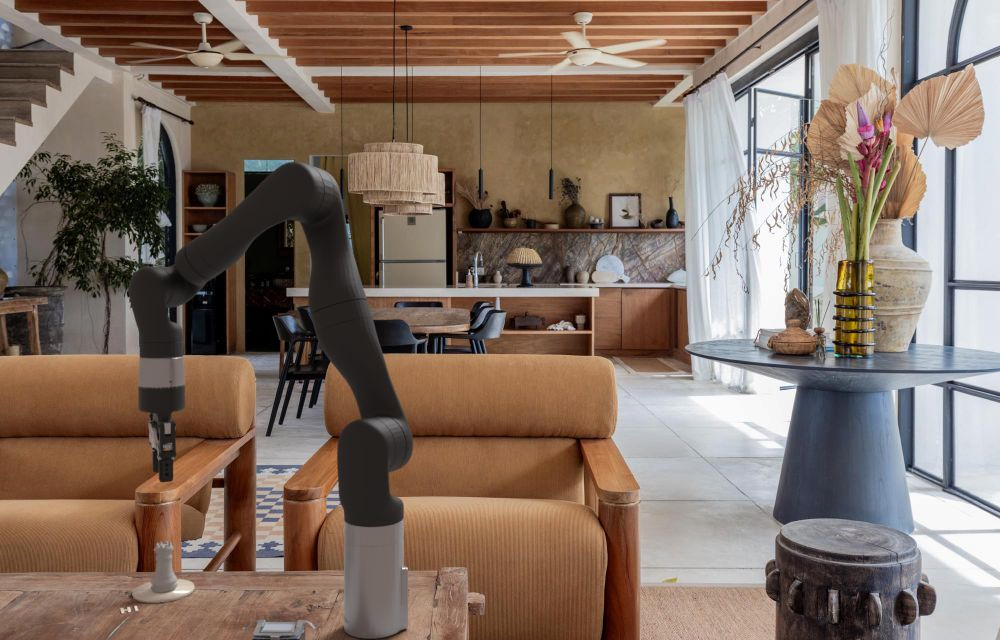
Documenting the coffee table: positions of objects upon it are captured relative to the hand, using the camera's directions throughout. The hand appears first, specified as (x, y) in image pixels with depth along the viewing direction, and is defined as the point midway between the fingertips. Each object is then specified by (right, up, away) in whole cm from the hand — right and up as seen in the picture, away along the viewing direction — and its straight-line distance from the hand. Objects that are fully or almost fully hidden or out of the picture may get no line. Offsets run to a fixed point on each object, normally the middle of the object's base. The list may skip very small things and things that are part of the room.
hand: (162, 476), depth 148 cm
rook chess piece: (0, -20, +1) cm, 20 cm away
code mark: (-2, -21, -7) cm, 22 cm away
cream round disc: (0, -20, +1) cm, 20 cm away
